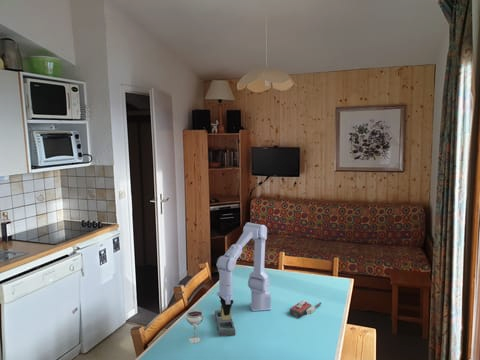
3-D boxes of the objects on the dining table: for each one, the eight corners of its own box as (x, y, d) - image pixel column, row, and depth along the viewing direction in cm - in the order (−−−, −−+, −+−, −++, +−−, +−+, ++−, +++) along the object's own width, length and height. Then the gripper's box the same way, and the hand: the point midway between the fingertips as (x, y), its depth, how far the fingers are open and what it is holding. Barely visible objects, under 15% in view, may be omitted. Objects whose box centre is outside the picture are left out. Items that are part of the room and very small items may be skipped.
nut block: (229, 314, 169) (229, 304, 168) (231, 319, 165) (230, 308, 164) (220, 315, 168) (220, 304, 168) (221, 319, 164) (221, 308, 164)
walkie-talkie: (303, 321, 176) (322, 306, 192) (303, 312, 176) (323, 297, 191) (287, 315, 182) (307, 301, 197) (287, 306, 181) (307, 293, 197)
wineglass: (189, 345, 155) (189, 318, 153) (185, 337, 161) (184, 311, 159) (205, 342, 157) (205, 315, 156) (200, 334, 164) (200, 308, 162)
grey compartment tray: (229, 313, 183) (229, 309, 182) (235, 335, 163) (235, 330, 163) (214, 314, 182) (214, 310, 181) (219, 336, 162) (219, 332, 162)
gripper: (215, 277, 171) (215, 305, 173) (218, 290, 157) (218, 321, 159) (230, 276, 172) (230, 304, 174) (235, 289, 158) (235, 320, 160)
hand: (225, 312), depth 166 cm, fingers closed on nut block, 4 cm apart
